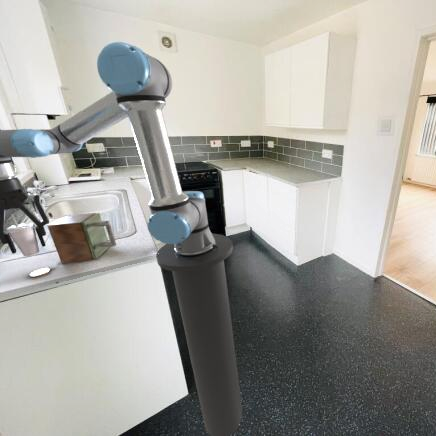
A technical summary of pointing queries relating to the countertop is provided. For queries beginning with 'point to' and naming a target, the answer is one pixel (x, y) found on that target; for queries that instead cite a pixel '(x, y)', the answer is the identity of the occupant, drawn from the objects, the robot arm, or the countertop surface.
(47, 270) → the coaster
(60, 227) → the cabinet
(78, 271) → the countertop surface
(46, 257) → the countertop surface
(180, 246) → the robot arm
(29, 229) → the smoothie
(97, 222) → the door
